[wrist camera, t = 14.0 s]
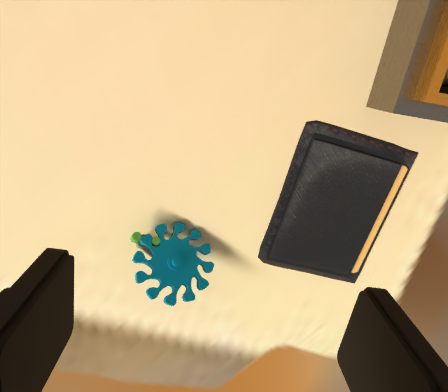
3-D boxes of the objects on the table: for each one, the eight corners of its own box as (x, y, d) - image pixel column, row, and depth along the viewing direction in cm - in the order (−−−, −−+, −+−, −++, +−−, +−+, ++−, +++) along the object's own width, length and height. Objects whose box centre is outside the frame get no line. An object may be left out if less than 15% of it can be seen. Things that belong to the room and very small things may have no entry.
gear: (229, 254, 43) (185, 323, 38) (212, 261, 48) (170, 323, 43) (163, 199, 42) (107, 262, 37) (152, 212, 47) (102, 269, 42)
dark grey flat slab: (311, 117, 38) (429, 156, 40) (306, 115, 39) (419, 152, 42) (253, 264, 44) (356, 291, 46) (251, 257, 46) (351, 283, 48)
